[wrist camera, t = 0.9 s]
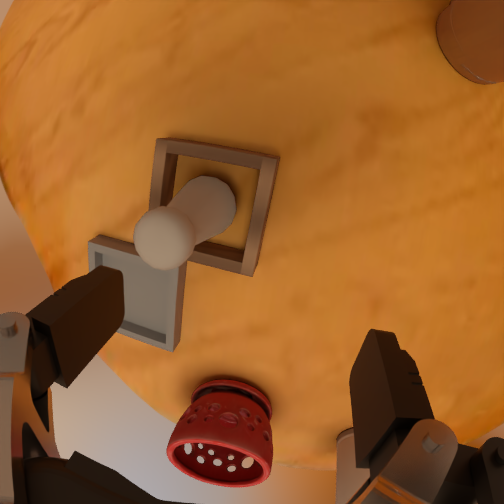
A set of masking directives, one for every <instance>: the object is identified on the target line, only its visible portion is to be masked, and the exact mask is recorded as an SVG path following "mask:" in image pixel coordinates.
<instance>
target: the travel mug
mask: <svg viewBox="0 0 504 504" xmlns="http://www.w3.org/2000/svg"><path fill="white" fill-rule="evenodd" d="M336 475H337V476H336V504H346V503H347V502H348V501H349V499H350V498H351V497H352V496H353V495H354V494H355V493H356V491H357V490H358V489H359V488H360V487H361V486H362V484H363V483H364V482H365V481H366V480H367V479H368V478H369V477H370V469H363V468H356V460H355V443H354V429H353V428H351V429H348V430H346V431H344V432H342V433H341V434H340V435H339V436H338V437H337V474H336Z"/></svg>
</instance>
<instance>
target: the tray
mask: <svg viewBox="0 0 504 504" xmlns="http://www.w3.org/2000/svg"><path fill="white" fill-rule="evenodd" d="M88 257H89V272H91V271H92V270H94V269H95V268H96V267H98V266H99V265H103V266H107V267H110V268H114V269H117V270H120V271H121V272H122V273H123V278H124V303H125V315H124V319H123V322H122V324H121V326H120V328H119V329H118V330H117V331H116V332H118V333H120V334H123V335H125V336H128V337H131V338H133V339H136V340H139V341H142V342H144V343H147V344H150V345H153V346H156V347H159V348H161V349H164V350H167V351H170V352H174V350H175V348H176V347H177V345H178V343H179V342H180V333H181V320H182V308H183V296H184V286H185V275H186V266H187V260H186V261H185V262H184V263H183V264H182V265H181V266H179V267H177V268H174V269H170V270H166V271H165V270H160V269H155V268H153V267H151V266H150V265H148V264H147V263H146V262H144V261H143V260H142V258H141V257H140V255H139V254H138V252H137V251H136V248H135V244H132V243H128V242H125V241H121V240H117V239H114V238H110V237H106V236H103V235H98V236H96V237H95V238H93V239H91V240H90V241H88Z"/></svg>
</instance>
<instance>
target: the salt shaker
mask: <svg viewBox="0 0 504 504" xmlns="http://www.w3.org/2000/svg"><path fill="white" fill-rule="evenodd" d="M236 210H237V209H236V202H235V196H234V194H233V193H232V191H231V189H230V188H229V186H228V185H227V184H226V183H224V182H223V181H221V180H219V179H218V178H215V177H208V176H199V177H197V178H194V179H192V180H189V181H188V182H187V184H186V185H185V186H184V187H183V188H182V189H181V190H180V191H179V192H178V193H177V195H176V196H175V197H174V198H173V199H172V200H171V202H170V203H169V204H168V205H167V206H161V207H158V208H155V209H153V210H150V211H148V212H146V213H145V214H144V215H143V216H142V218H141V219H140V220H139V221H138V222H137V224H136V225H135V229H134V235H133V239H134V244H135V248H136V251H137V252H138V254H139V255H140V257H141V258H142V260H143V261H144V262H146V263H147V264H148V265H150V266H151V267H153V268H155V269H160V270H165V271H166V270H170V269H174V268H177V267H179V266H181V265H182V264H183V263H184V262H185V261H186V260H187V259H188V258H189V257H190V256H191V254H192V253H193V250H194V247H195V245H197V244H199V243H201V242H203V241H205V240H207V239H209V238H211V237H214V236H216V235H218V234H220V233H222V232H223V231H224V230H225V229H226V228H227V227H228V226H229V225H230V224H232V221H233V218H234V215H235V213H236Z"/></svg>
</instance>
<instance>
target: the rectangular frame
mask: <svg viewBox="0 0 504 504" xmlns="http://www.w3.org/2000/svg"><path fill="white" fill-rule="evenodd" d="M178 155H184V156H190V157H196V158H202V159H208V160H213V161H219V162H224V163H229V164H234V165H239V166H244V167H249V168H254V169H259V170H261V171H260V176H259V181H258V186H257V191H256V196H255V201H254V206H253V211H252V216H251V221H250V227H249V232H248V237H247V242H246V247H245V251H243V250H239V249H235V248H231V247H227V246H223V245H219V244H215V243H211V242H206V241H203V242H201V243H199V244H197V245H195V247H194V250H193V253H192V254H191V256H190V257H189V258H188V259H187V260H188V261H192V262H195V263H199V264H203V265H207V266H211V267H215V268H219V269H222V270H226V271H230V272H234V273H238V274H242V275H246V276H250V277H253V274H254V272H255V269H256V267H257V263H258V259H259V254H260V249H261V245H262V240H263V235H264V231H265V226H266V221H267V217H268V212H269V207H270V203H271V198H272V193H273V188H274V184H275V179H276V174H277V169H278V164H279V160H280V157H277V156H273V155H268V154H263V153H258V152H253V151H248V150H243V149H238V148H232V147H227V146H221V145H215V144H209V143H203V142H197V141H190V140H183V139H176V138H158V139H156V146H155V154H154V162H153V170H152V179H151V189H150V200H149V211H150V210H153V209H155V208H158V207H161V206H167V205H168V204H169V203H170V202H171V200H172V196H173V188H174V180H175V172H176V165H177V157H178Z"/></svg>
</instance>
